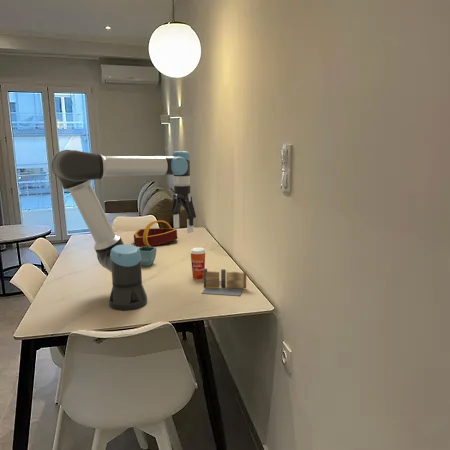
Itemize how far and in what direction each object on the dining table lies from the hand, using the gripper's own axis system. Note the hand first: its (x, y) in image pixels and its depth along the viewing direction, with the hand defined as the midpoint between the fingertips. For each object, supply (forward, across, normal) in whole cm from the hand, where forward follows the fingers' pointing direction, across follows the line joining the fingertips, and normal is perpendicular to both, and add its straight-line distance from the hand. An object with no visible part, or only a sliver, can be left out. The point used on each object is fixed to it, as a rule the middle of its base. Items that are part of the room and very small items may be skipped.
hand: (183, 230), depth 186 cm
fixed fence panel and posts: (+24, -19, -5) cm, 31 cm away
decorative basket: (+24, +77, -22) cm, 84 cm away
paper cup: (+24, -2, -7) cm, 25 cm away
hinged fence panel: (+23, -26, -12) cm, 37 cm away
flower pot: (+24, +32, +5) cm, 41 cm away
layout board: (+24, -22, -9) cm, 34 cm away
